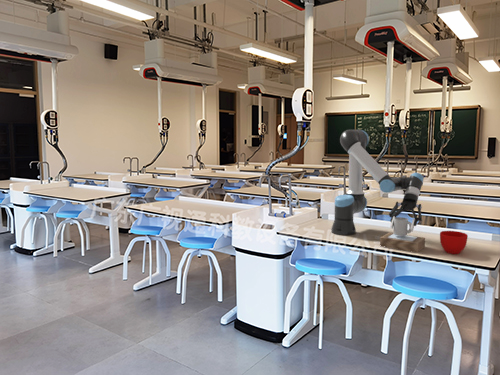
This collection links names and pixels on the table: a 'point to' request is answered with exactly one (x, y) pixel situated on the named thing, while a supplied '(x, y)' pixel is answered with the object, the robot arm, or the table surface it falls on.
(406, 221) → the cup
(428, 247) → the table surface
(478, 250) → the table surface
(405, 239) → the plinth
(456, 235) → the ceramic cup
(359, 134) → the robot arm
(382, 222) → the table surface
